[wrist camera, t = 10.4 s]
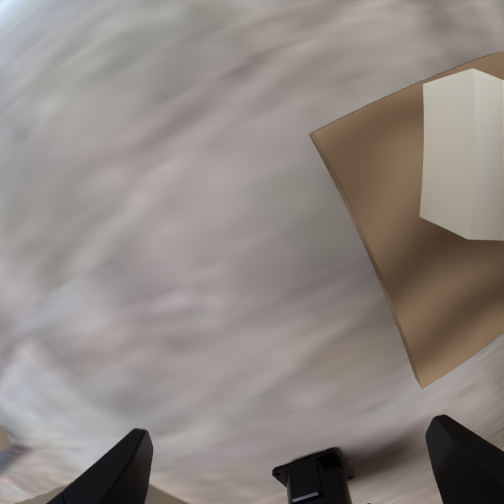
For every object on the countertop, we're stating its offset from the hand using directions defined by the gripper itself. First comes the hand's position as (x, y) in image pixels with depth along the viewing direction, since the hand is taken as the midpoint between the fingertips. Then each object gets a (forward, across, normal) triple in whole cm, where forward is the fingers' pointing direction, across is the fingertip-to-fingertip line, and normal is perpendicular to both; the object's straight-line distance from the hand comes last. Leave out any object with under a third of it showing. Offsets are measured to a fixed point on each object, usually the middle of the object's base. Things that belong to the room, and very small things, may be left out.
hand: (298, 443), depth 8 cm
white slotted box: (+10, -11, -9) cm, 18 cm away
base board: (+12, -14, -4) cm, 19 cm away
